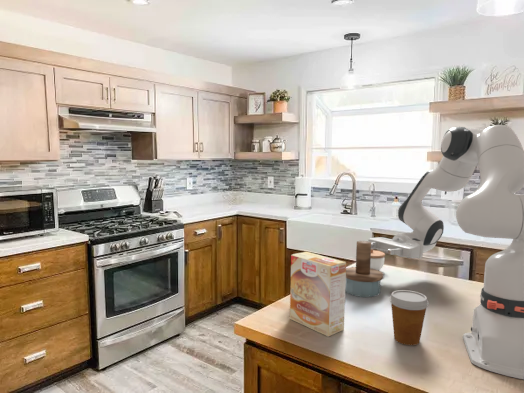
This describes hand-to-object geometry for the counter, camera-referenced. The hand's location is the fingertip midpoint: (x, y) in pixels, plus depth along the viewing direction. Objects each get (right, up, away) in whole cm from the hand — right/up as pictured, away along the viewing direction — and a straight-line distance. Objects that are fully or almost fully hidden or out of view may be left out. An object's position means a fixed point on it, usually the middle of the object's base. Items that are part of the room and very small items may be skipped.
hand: (378, 249), depth 142 cm
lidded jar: (+3, -12, +22) cm, 25 cm away
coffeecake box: (-28, -17, -31) cm, 45 cm away
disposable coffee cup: (-5, -18, -40) cm, 45 cm away
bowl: (-7, -14, -3) cm, 16 cm away
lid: (-7, -9, -4) cm, 12 cm away
